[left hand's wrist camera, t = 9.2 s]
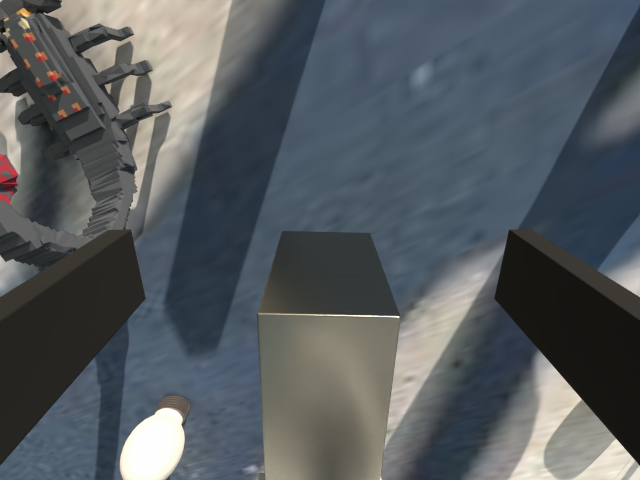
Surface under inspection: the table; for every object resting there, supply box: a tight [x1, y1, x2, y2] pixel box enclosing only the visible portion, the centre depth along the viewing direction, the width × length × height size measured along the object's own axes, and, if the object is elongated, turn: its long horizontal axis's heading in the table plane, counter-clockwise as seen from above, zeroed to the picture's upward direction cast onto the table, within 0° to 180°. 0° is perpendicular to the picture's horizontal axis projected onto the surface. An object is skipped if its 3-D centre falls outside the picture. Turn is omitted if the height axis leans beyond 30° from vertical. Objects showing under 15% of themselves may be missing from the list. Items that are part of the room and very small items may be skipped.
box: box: [257, 231, 401, 480], centre depth 24 cm, size 22×6×10 cm, turn 179°
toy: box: [0, 0, 172, 267], centre depth 26 cm, size 13×27×18 cm, turn 22°
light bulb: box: [120, 396, 190, 480], centre depth 44 cm, size 7×7×11 cm
